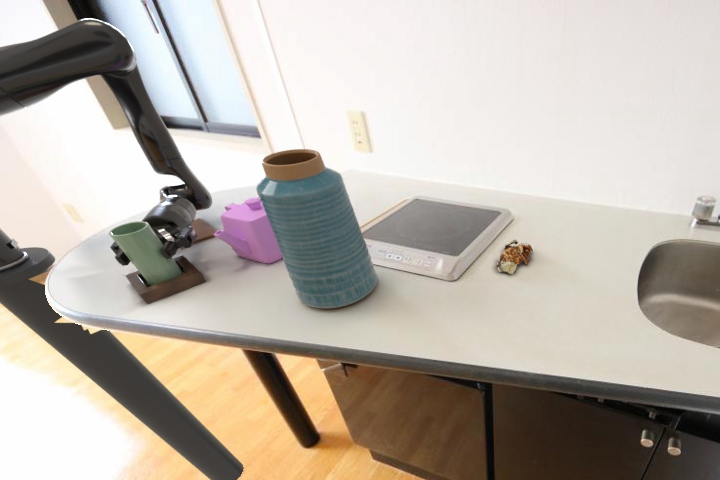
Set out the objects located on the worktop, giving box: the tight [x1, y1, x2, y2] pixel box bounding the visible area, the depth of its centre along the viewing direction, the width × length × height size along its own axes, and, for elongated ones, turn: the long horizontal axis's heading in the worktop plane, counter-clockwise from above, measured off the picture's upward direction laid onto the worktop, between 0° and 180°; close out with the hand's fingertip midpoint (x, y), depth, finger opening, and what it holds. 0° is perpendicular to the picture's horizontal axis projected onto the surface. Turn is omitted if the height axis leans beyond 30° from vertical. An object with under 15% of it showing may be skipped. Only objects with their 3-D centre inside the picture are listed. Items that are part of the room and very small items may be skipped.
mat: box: [181, 217, 218, 249], centre depth 96 cm, size 14×14×1 cm
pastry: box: [496, 238, 534, 275], centre depth 85 cm, size 7×12×4 cm, turn 162°
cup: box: [108, 220, 185, 287], centre depth 75 cm, size 6×6×13 cm
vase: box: [255, 148, 378, 309], centre depth 69 cm, size 16×16×27 cm
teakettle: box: [213, 196, 283, 265], centre depth 87 cm, size 17×17×12 cm
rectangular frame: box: [124, 255, 207, 305], centre depth 79 cm, size 11×11×2 cm
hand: (143, 258), depth 73 cm, fingers open, 7 cm apart
